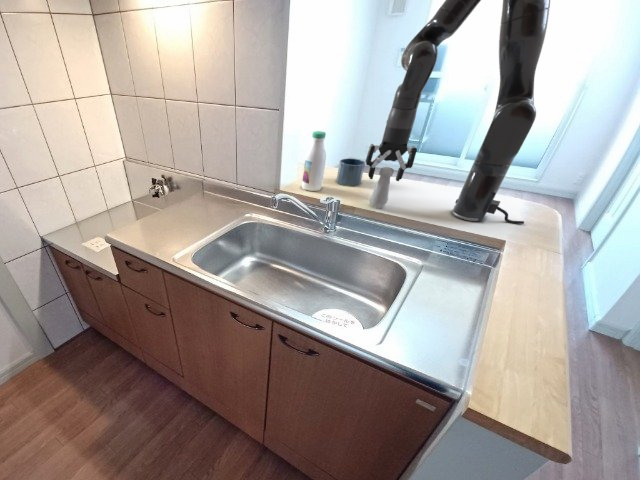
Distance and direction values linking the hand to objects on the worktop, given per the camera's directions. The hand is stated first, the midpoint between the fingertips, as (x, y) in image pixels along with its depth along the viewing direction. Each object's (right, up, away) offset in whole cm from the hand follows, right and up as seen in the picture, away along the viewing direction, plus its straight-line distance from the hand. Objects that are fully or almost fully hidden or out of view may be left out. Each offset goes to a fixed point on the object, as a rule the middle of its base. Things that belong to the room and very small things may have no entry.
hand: (384, 179), depth 107 cm
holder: (-3, +8, +25) cm, 27 cm away
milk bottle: (-20, +4, +20) cm, 28 cm away
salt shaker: (0, -7, +6) cm, 9 cm away
